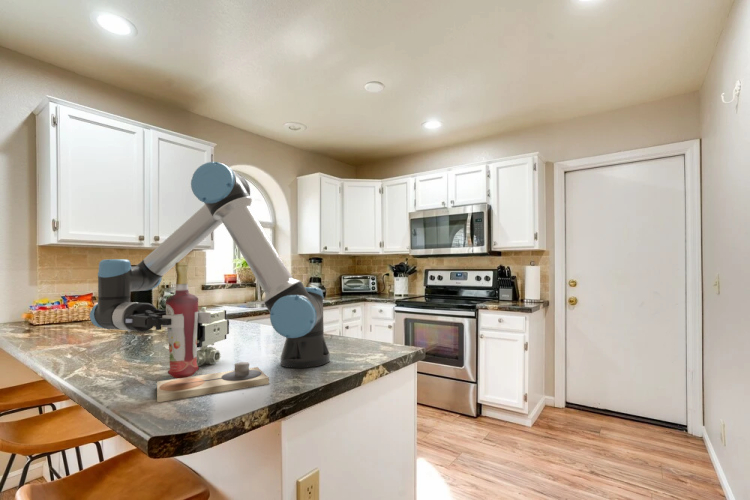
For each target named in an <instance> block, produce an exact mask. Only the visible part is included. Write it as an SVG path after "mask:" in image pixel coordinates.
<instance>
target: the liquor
mask: <svg viewBox="0 0 750 500" xmlns="http://www.w3.org/2000/svg"><path fill="white" fill-rule="evenodd" d="M174 267H175V274H176V280H175V282H176V283H175V290H174V293H175V294H173V295H171V296H169V297H168V298H166V300H165V301H164V303H165V310H166V315H172V316H184V328H172V327H166V329H167V339H168V340H167V341H168V359H169V369H168V371H167V373H168V375H170V376H171V377H172V378H173V379H179V378H186V377H192V376H194V375H195V374H196V372H197V371H198V370H199V369H200V368H199V367H200V366H197V351H198V349H197V348H198V347H197V325H198V311H199V298H198V297H197V296H196V295H194V294H193V293H190V291H189V284H188V276H187V275H188V262H187V261H185V262H182V261H181V262H178V263H175V266H174Z"/></svg>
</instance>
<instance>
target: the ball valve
mask: <svg viewBox="0 0 750 500" xmlns="http://www.w3.org/2000/svg"><path fill="white" fill-rule="evenodd" d="M200 309H201V311H200V312H211V323H198V325H197V348H200V349H199V350H198V349H197V366H198V367H200V366H202V365H214V364H216V363H218V362H219V361H220V360H221V352H220V351H219V350H217V348H216V347H212V346H214V345H215V343H218V342H221V341H224V340H226V339H227V335H229V334H230V319H229V318H228V316H227V310H225V309H224V310H223V309H222V310H220V309H219V310H218V309H217V310H215V309H214V310H210V309H209V310H208V309H207V306H203V307H201V308H200ZM210 345H211V346H210Z"/></svg>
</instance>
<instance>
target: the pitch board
mask: <svg viewBox="0 0 750 500" xmlns="http://www.w3.org/2000/svg"><path fill="white" fill-rule="evenodd" d="M156 384H157V385H156V396H157V397H156V402H157V403H162V402H167V401H169V402H170V401H172V400H173V401H174V400H179V399H180V400H181V399H185V398H191V397H198V396H203V395H208V394H209V395H210V394H215V393H222V392H227V391H232V390H239V389H245V388H251V387H256V386H264V385H268V384H270V377H269V376H268V375H267V374H266V373H265V372H264V371H262V369H261V368H259V366H255V367H250V363H249V362H246V361H240V362H236V363H235V364H234V370H229V371H228V370H227V371H221V372H214V373H208V374H207V373H206V374H200V375H192V376H190V377H186V378H172V379H166V380H160V381H158V380H157V382H156Z"/></svg>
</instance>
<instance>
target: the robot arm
mask: <svg viewBox="0 0 750 500" xmlns="http://www.w3.org/2000/svg"><path fill="white" fill-rule="evenodd" d="M191 177H192V178H191V180H190V188H191V190H192V191H191V192H192V194H193V195H194V197H196V198H197V199H198V200H199V201H200V202H202V203H203V204H204V205H203V206H202V207H201V208H199V209H198V210H197V211H196V212H195V213H194V214H193V215H192V216H191V217H190V218H188V219H187V220H186V221H185V222H183V223H182V225H180V226H179V227H178V228H177V229H176V230H174V232H173V233H171V234H170V235H169V236H168V237H167V238H166V239H165V240H164V241H163V242H161V243H160V244H159V245H158V246H157V247H155V249H154V250H153V251H151V252H150V253H149V254H148V255H147V256H145V257H144V259H142V260H141V261H140V262H139V263H138V264H137V265H135V266H132V265H131V261H130V260H129V259H123V258H122V259H119V258H118V259H113V258H112V259H111V258H110V259H102V260H100V261H99V263H98V272H97V289H98V290H97V298H98V299H97V303H96V304H95V305H94V306H93V307H92V309H91V310H90V313H89V319H90V321H91V323H92V324H93V326H95V327H97V328H100V329H105V330H117V331H118V330H119V331H127V333H130V334H131V332H132V331H133V332H148V331H150V330H151V329H153V327H155V331H160V330H162V328H167V327H172V328H184V316H172V315H166V309H161V308H157V307H155V306H154V305H153V304H152V303H150V302H137V301H135V302H134V301H133V302H132V301H131V292H140V291H142V292H143V291H146V292H147V291H150V290H153V289H155V288H157V287H159V286H160V284H161V283H162V279H163V276H164V275H166V274H167V273H168V272H169V271H170V270H171V269H172V268H174V267H176V266H175V263H180V261H181V260H182V259H184V258H185V257H186V256H187V255H188V254H189V253H190V252H191V251H193V250H194V249H195V248H196V247H197V246H198V245H199V244H201V243H202V242H203V241H204V240H205V239H206V238H207V237H208V236H210V235H211V233H213V232H214V231H215V230H216V229H217V228H218V227H219V226H221V225H222V224H223V226H224V227H225V228H226V231H228V234H229V235H230V237H231V238H232V240H233V243H234V244H235V245H236V247H237V249H238V251H240V255H242V257H243V259H244V260H245V262H246V263H247V266H248V267H249V269H250V271H251V273H252V274H253V276H254V277H255V279H256V281H257V282H258V284H259V286H260V287H261V289H262V291H263V293H264V299H263V304H264V305H265V307H266V308H267V310H268V312H269V320H270V324H271V326H272V328H273V329H274V331H275V332H276V333H278V335H280V336H282V337H284V338H285V342H284V344H283V348H282V351H281V354H280V365H281V366H283V367H284V368H285V367H286V368H294V369H301V368H302V369H304V368H305V369H307V368H314V367H315V368H316V367H319V366H323V365H326V364H328V363H330V359H331V358H330V356H331V355H330V350H329V348H328V345H327V342H326V340H325V335H324V329H325V328H324V325H325V324H324V292H323V290H322V288H320V287H311V286H310V287H306V286H305V285H304V284H303V282H302V280H300V279H295V278H293V276H292V275H291V273H290V271H289V269H288V268H287V267H286V265H285V263H284V261H283V260H282V258H281V256H280V255H279V253H278V251H277V249H276V248H275V246H274V244H273V243H272V241H271V240H270V238H269V236H268V235H267V233H266V231H265V229H264V228H263V226H262V225H261V223H260V222H259V219H258V218H257V215H256V214H255V213H254V211H253V209H252V208H251V204H252V202H253V198H252V197H251V188H250V185H249V182H248V181H247V180H246V179H245V178H244V177H243V176H242V175H241V174H239V173H237V172H236V171H234V170H233V169H232V167H230V166H229V165H227V164H225V163H222V162H218V161H208V162H204V163H203V164H201V165H200V166H199V167H197V168H196V169H195V170H194V173H193V174H192V176H191ZM198 323H211V312H201V311H200V310H198Z"/></svg>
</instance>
